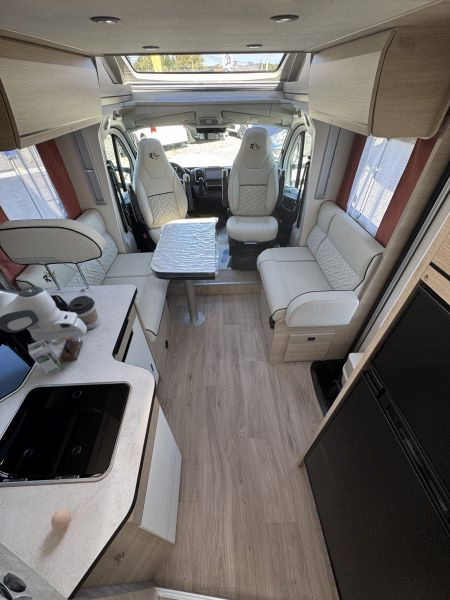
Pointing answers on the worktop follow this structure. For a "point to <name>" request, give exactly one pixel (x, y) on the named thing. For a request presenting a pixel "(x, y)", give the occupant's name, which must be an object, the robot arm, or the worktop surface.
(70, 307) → the coffee cup
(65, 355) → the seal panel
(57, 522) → the egg
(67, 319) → the robot arm
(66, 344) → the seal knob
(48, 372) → the syrup box
